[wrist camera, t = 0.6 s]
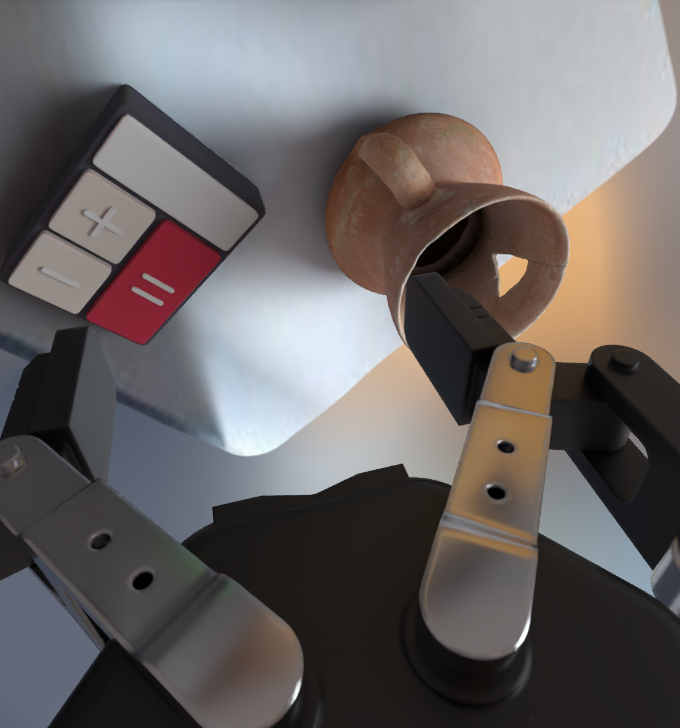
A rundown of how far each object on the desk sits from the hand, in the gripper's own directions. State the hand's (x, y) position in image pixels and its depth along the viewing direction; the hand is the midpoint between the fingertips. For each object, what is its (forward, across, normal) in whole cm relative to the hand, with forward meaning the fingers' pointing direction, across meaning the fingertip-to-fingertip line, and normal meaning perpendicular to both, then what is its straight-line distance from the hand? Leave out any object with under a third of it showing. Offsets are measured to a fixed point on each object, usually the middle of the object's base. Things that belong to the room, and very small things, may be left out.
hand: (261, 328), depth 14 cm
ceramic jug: (+28, -14, +8) cm, 33 cm away
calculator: (+28, +6, +7) cm, 29 cm away
